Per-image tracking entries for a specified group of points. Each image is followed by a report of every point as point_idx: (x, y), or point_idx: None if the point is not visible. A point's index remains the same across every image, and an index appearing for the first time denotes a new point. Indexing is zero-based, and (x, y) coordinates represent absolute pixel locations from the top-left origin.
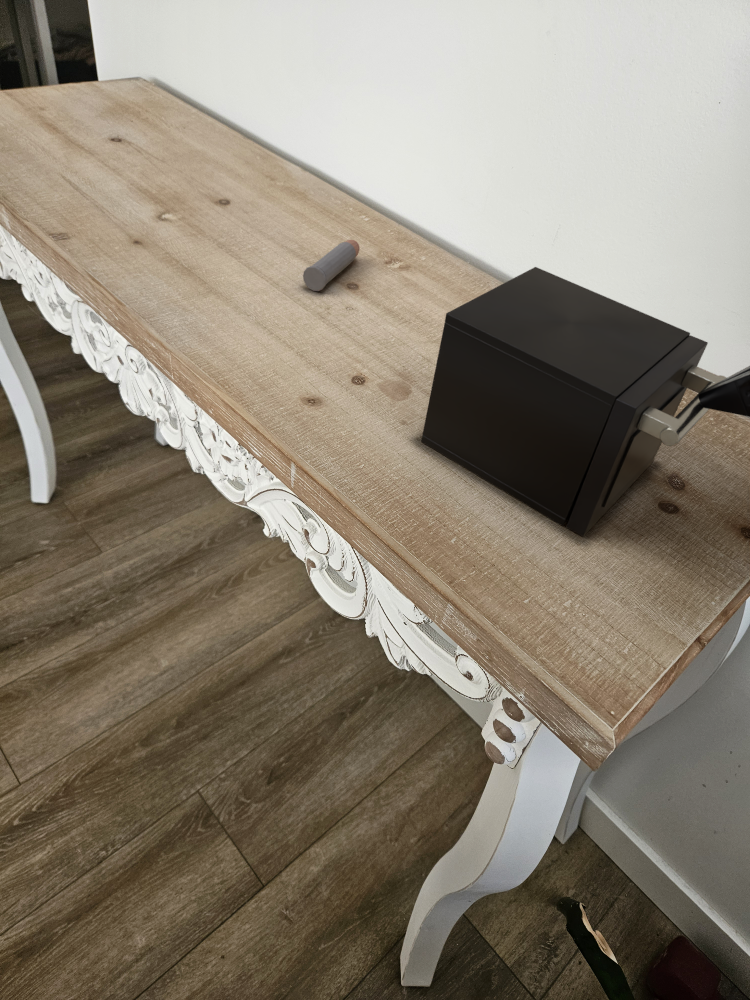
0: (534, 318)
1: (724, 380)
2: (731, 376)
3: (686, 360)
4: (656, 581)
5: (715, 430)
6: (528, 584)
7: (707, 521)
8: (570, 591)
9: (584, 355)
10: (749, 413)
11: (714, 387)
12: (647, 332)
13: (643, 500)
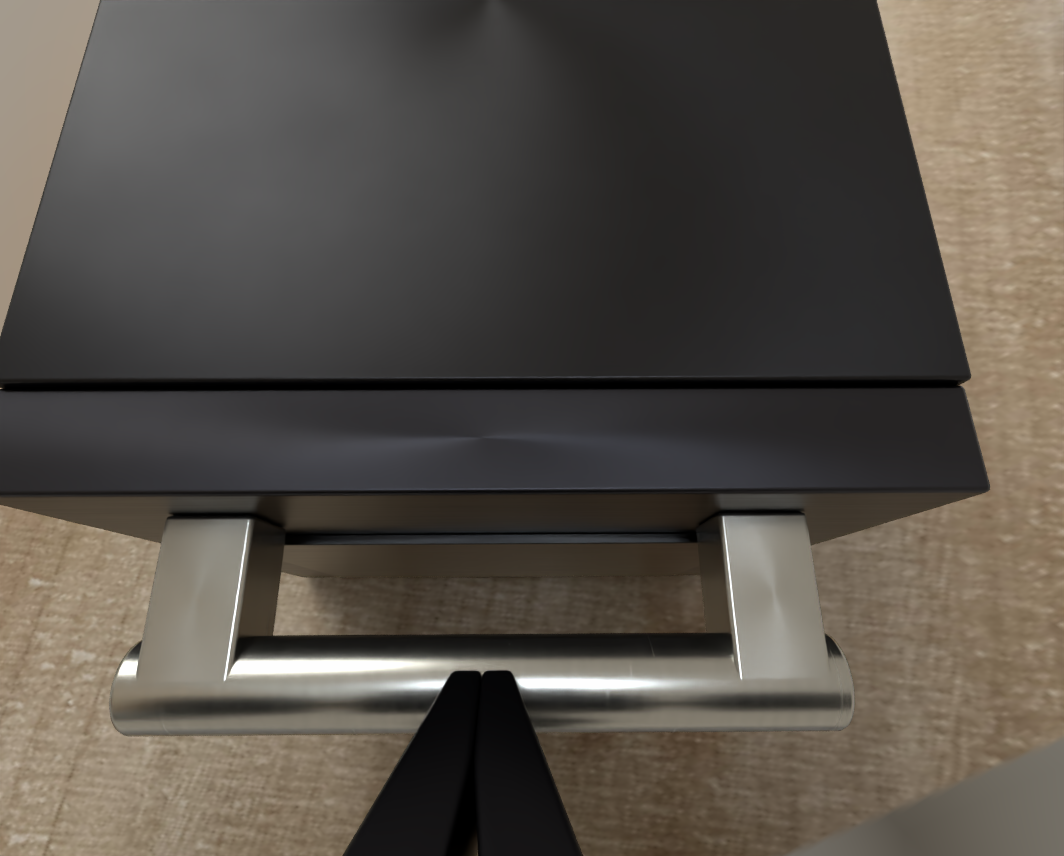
0: None
1: (498, 791)
2: (523, 832)
3: (668, 483)
4: (287, 794)
5: (1039, 647)
6: (86, 560)
7: (615, 806)
8: (121, 643)
9: (260, 138)
10: None
11: (419, 755)
12: (740, 229)
13: (554, 626)
